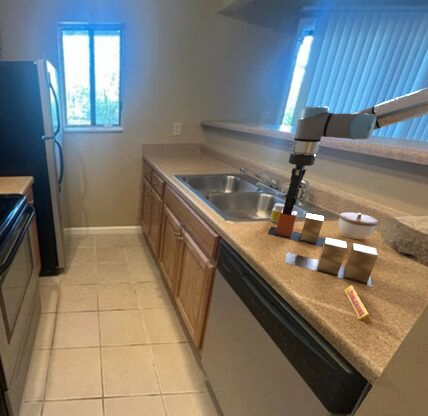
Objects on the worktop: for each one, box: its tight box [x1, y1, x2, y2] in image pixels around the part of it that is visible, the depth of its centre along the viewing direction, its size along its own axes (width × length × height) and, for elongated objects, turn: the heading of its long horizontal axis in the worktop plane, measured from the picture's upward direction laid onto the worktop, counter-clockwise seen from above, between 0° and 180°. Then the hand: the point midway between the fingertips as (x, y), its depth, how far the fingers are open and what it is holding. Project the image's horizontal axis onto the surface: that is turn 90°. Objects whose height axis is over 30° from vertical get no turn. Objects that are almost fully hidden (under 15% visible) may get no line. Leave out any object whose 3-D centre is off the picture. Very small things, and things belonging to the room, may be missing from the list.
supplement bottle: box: [269, 202, 285, 226], centre depth 116 cm, size 5×5×8 cm
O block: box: [300, 213, 325, 243], centre depth 101 cm, size 5×5×9 cm
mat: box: [267, 225, 326, 248], centre depth 105 cm, size 18×9×1 cm, turn 51°
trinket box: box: [337, 212, 379, 240], centre depth 103 cm, size 11×11×9 cm
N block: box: [344, 242, 379, 283], centre depth 80 cm, size 5×5×9 cm
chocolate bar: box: [344, 284, 373, 324], centre depth 70 cm, size 3×12×2 cm, turn 154°
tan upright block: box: [317, 236, 348, 275], centre depth 83 cm, size 5×5×9 cm
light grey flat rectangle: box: [284, 252, 373, 288], centre depth 85 cm, size 21×8×1 cm, turn 51°
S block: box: [276, 209, 298, 237], centre depth 106 cm, size 5×5×9 cm
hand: (289, 208), depth 104 cm, fingers open, 13 cm apart
